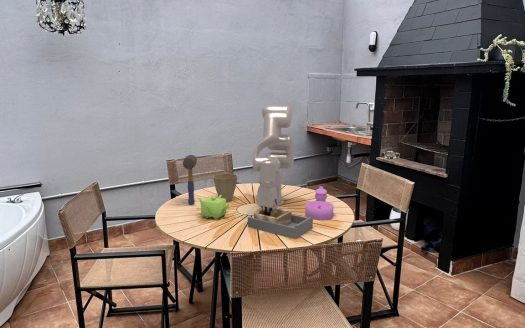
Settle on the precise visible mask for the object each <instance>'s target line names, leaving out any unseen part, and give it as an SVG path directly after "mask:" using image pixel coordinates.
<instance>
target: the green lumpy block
mask: <svg viewBox="0 0 525 328" xmlns="http://www.w3.org/2000/svg"><path fill="white" fill-rule="evenodd" d="M221 196H222V195H220V196H219V197H218V196H217V197H216V196H207V197H206V198H204V199H202V198H201V197H197V199H198V201H199V202H200V211H201V213H200V215H201V216H202V217H204V218H205V219H210V218H213V219H214V220H219V218H221V217H223V216H224V215H225V214H227V209H229V208H230V207H231V205H230V204H229V203H227V202H226V199H224V198H221Z"/></svg>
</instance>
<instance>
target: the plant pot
mask: <svg viewBox="0 0 525 328" xmlns="http://www.w3.org/2000/svg"><path fill="white" fill-rule="evenodd" d="M212 177H213V183H214V187H215V191H216V194H217V198H218V197H219V196H220V195H222V196H221V198H224V199H226V203H229V202H232V200H233V197H234V194H235V191H236V187H237V182H238V174H235V173H231V172H229V173H228V172H223V173H222V172H221V173H217V174H214V175H213V176H212Z"/></svg>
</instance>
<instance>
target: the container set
mask: <svg viewBox="0 0 525 328" xmlns="http://www.w3.org/2000/svg"><path fill="white" fill-rule="evenodd" d="M314 192H315V194H314V198H315V200H312V201H311V200H310V201H307V202H306V203H305V206H304V207H305V210H304V212H305V215H304V217H308V218H309V217H312V219H313V221H314V220H315V221H329V220H331V219H333V218H334V204H333V203H331V202H330V201H329V202H328V201H327V199H328V195H327V193H328V191H327V189H325V188H324V186H321V185H320V186H319V188H317V189H315V190H314Z"/></svg>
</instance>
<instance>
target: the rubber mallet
mask: <svg viewBox="0 0 525 328" xmlns="http://www.w3.org/2000/svg"><path fill="white" fill-rule="evenodd" d="M197 160H198V159H197V157H196V156H195V155H193V154H188V155H187V156H186V157H184V159H183V161H182V166H183V168H184V169H186V170H187V177H188V178H187V179H188V181H187V194H188V200H187V202H188V205H191V206H192V205H194V204H195V202H196V200H195V182H194V177H193V168H195V167H196V165H197Z"/></svg>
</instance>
